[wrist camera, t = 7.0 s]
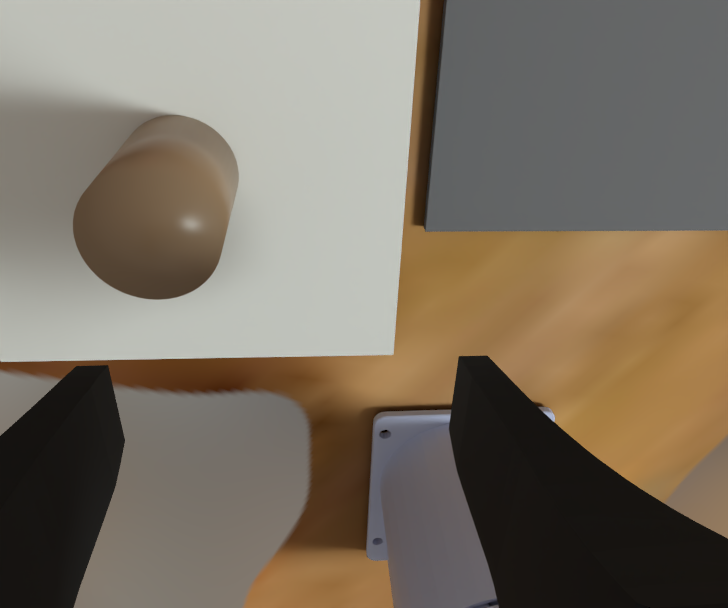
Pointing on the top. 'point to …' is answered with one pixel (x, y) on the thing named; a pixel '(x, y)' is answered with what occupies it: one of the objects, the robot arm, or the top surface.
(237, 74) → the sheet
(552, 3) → the mat
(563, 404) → the top surface
